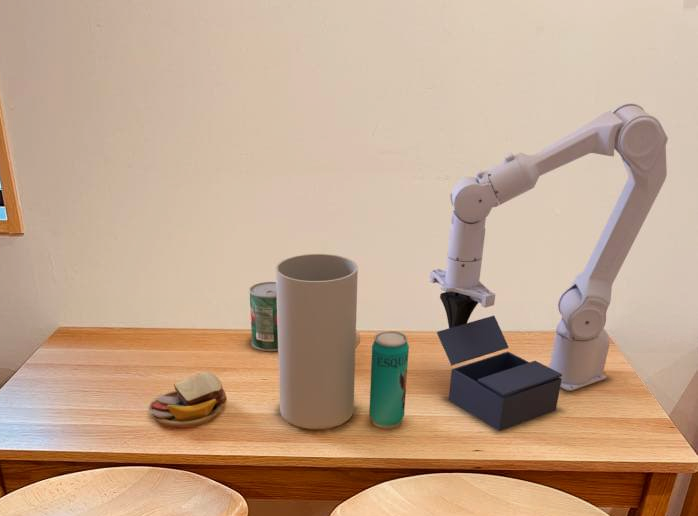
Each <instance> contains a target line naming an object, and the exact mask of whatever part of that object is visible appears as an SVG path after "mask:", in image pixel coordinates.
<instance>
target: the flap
mask: <svg viewBox="0 0 698 516" xmlns="http://www.w3.org/2000/svg"><path fill="white" fill-rule="evenodd" d="M436 335H437V336H438V339H439V342H440V343H441V346H442V348H443V350H444V352H445V355H446V357H447V359H448V362H449V364H450V366H451V367H452V366H455V365H458V364H463V363H464V362H467V361H471V360H475V359H477V358H481V357H484V356H486V355H487V356H488V355H491V354H493V353H497V352H500V351H503V350H507V349H509V344H508V342H507V340H506V338H505V336H504V334H503V331H502V329H501V327H500V325H499V322H498V321H497V319H496V316H495V315H491V316H487V317H484V318H481V319H476V320H473V321H470V322H467V323H466V324H463V325H459V326H456V327H452V328H449V327H448V328H445V329H442V330H438V331H436Z"/></svg>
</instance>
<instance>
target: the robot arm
mask: <svg viewBox="0 0 698 516" xmlns="http://www.w3.org/2000/svg"><path fill="white" fill-rule="evenodd" d="M668 141H669V137H668V135H667V133H666V131H665V129H664V126H663V125H662V124H661V122H660V120H659V119H658V118H656V117H655V116H653V115H651V114H650V113H648V112H647V111H646V110H645V109H644V108H643V107H642V106H640V105H639V104H636V103H624V104H622V105H619V106H618V107H616V108H615V109H614V110H613V111H612V110H608V111H606V112H604V113H601V114H600V115H598V116H597V117H595V118H594V119H592V120H591V121H588V122H587V123H585V124H584V125H582V126H580V127H579V128H577V129H575V130H574V131H571V132H570V133H568V134H566V135H564V136H563V137H561V138H559V139H558V140H556V141H555V142H553V143H551V144H549V145H548V146H546V147H544V148H542V149H541V150H539V151H536V153H533V154H526V153H523V152H518V153H517V154H514V153H513V152H510V153H507V154H506V155H505V156H504V159H505V160H503V161H501V162H499V163H498V164H495V165H494V166H491V167H489V168H488V169H486V170H484V171H483V170H482V169H480V170H478V171H476V172H475V175H476V176H466V177H464V178H461V179H460V180H459V181H458V182H457V183H456V184H455V186H454V187H453V188H452V192H451V193H450V195H449V196H450V202H451V205H452V207H453V208H454V209H453V210H452V216H451V220H450V221H451V222H450V223H451V224H450V228H449V235H448V245H447V256H446V257H447V258H446V266H445V267H446V268H445V270H444V269H441V268H436V269H433V270H430V272H429V273H430V274H429V282H430V283H432V284H435V283H436V284H438V285H440V290H441V291H444V292H441V293H440V295H439V299H440V301H441V303H442V305H443V307H444V310H445V314H446V318H447V324H448V329H449V328H452V327H456V326H459V325H463V324H466V323H469V322H468V321H469V320H470V317H471V315H472V314H473V311H474V310H475V308H476V307H477V306H478V305H479V304H481V307H483V308H490V307H492V306H494V305H495V302H496V301H495V300H496V293H494V292H493V291H491V290H489V288H488V287H486V286H485V285H484V284H483V283H482V282H481V280H480V278H481V273H482V261H483V254H484V247H485V238H486V221H487V217H488V216H489V215H490V213H491V212H492V209H493V208H497V207H498V206H501V205H503V204H505V203H507V202H509V201H511V200H513V199H515V198H517V197H518V196H521V195H523V194H525V193H527V192H528V191H529V192H530V191H531V190H532V189H534V188H535V186H536V184H537V183H538V181H539V179H540V177H541V176H543V175H546V174H548V173H550V172H552V171H554V170H556V169H558V168H560V167H563V166H565V165H567V164H569V163H571V162H574V161H576V160H578V159H581V158H582V157H585V156H587V155H589V154H596V155H601V156H608V157H614V156H615V151H616V152H617V153H618V155H619V156H620V157H621V161H622V163H623V166H624V169H625V170H626V173H627V176H628V178H627V180H626V182H625V184H624V186H623V188H622V190H621V192H620V195H619V196H618V199H617V201H616V202H615V204H614V207H613V209H612V211H611V213H610V215H609V217H608V220H607V221H606V224H605V226H604V227H603V230H602V231H601V234H600V236H599V237H598V240H597V242H596V244H595V247H594V248H593V251H592V252H591V255H590V256H589V259H588V261H587V263H586V264H585V267H584V269H583V271H581V272H580V273H578V274H577V275H576V276H575V277H574V280H573V281H572V283H571V285H569V287H567V289H566V290H564V291H563V292H562V293H561V295H560V296H559V298H558V302H557V307H558V309H557V310H558V313H559V314H560V315H561V319H560V321H559V323H558V324H557V325H556V329H555V334H554V335H555V336H554V339H553V347H552V352H551V358H550V364H549V368H551V369H553V370H555V371H557V372H559V373H561V374H562V376H561V377H559V378H561V379H562V380H561V386H560V389H561V388H562V389H563V390H565V391H567V392H573V391H575V390H577V389H580V388H584V387H586V386H589V385H592V384H595V383H598V382H601V381H604V380H606V379H607V375H606V374H604V371H605V366H606V362H607V358H608V353H609V349H610V337H609V334H608V332H607V330H606V329H604V328H605V326H606V323H607V312H608V309H609V306H610V304H611V302H612V301H611V300H612V290H613V289H612V287H613V285H614V282H615V280H616V278H617V276H618V274H619V272H620V270H621V268H622V267H623V264H624V262H625V261H626V258H627V256H628V254H629V252H630V251H631V249H632V247H633V245H634V242H635V241H636V238H637V237H638V235H639V233H640V231H641V228H642V227H643V225H644V223H645V221H646V219H647V217H648V215H649V213H650V212H651V209H652V207H653V205H654V203H655V201H656V200H657V197H658V195H659V193H660V191H661V189H662V187H663V185H664V183H665V182H666V178H667V175H668V171H667V168H668V167H667V143H668Z"/></svg>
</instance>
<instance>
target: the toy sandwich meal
mask: <svg viewBox="0 0 698 516" xmlns="http://www.w3.org/2000/svg"><path fill="white" fill-rule="evenodd" d="M173 387H174V390H171V391H167V392H164V393H161V394H160V395H158V396H156V397H155V398H153V400H151V402H150V403H149V404H148V406H147V407H148V408H147V410H148V414H149V415H150V416H151V417H152V418H153V419H154V420H155V421H157V422H158V423H160V424H163V425H165V426H168V427H172V428H174V427H175V428H189V427H190V428H191V427H196V426H199V425H203V424H205V423H207V422H209V421H211V420H212V419H213V418H214V417H216V415H217V414H219V412H220V411H221V409H222V407H223V406H222V405H223V404H225V403H226V402H227V394H226V391H225V390H224V388H223V384H222V381H221V380H220V378H219V377H218V376H216V375H215V374H214V373H212V372H209V371H202V372H200V373H198V374H196V375H194V376H191V377H188V378H184V379H183V380H180V381H177V382H175V383H174V384H173Z"/></svg>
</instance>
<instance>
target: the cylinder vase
mask: <svg viewBox="0 0 698 516" xmlns="http://www.w3.org/2000/svg"><path fill="white" fill-rule="evenodd" d="M358 271H359V266H358V264H357V263H356V262H355V261H354V260H352V259H350V258H348V257H345V256H341V255H337V254H330V253H307V254H305V253H304V254H300V255H294V256H290V257H287V258H285V259H283V260H281V261H279V262H278V263H277V264H276V266H275V282H276V295H277V327H278V351H277V354H278V355H277V356H278V359H277V361H278V390H279V412H280V414H281V417H282V419H284V421H286V422H287V423H289V424H291V425H293V426H295V427H298V428H303V429H306V430H307V429H308V430H327V429H331V428H332V429H333V428H335V427H339V426H341V425H342V424H344V423H346V422H347V421H348V420H350V418H351V417H352V416H353V414H354V411H355V381H356V380H355V377H356V349H355V346H356V330H357V309H358V307H357V306H358V273H359V272H358Z"/></svg>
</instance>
